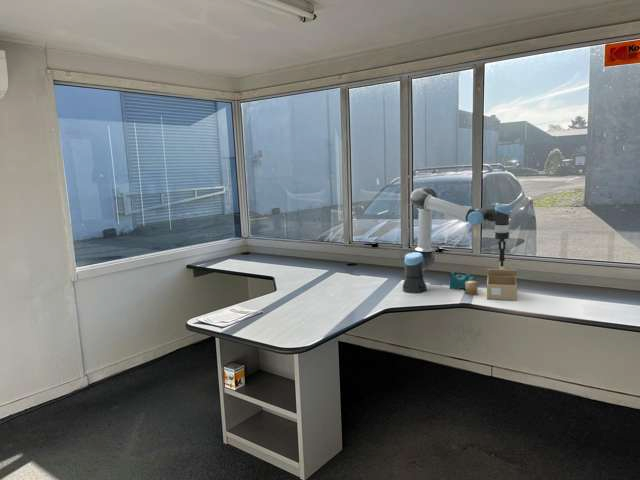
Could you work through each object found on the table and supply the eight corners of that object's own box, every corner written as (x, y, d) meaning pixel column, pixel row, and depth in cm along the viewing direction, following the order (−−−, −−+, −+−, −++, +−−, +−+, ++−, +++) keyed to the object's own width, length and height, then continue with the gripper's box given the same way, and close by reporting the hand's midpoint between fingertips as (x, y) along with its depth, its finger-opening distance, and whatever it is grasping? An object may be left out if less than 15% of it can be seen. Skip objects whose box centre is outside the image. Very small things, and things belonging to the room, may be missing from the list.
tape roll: (466, 295, 272) (466, 284, 271) (464, 291, 279) (464, 280, 278) (478, 294, 272) (478, 283, 270) (476, 291, 278) (475, 280, 277)
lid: (487, 269, 261) (487, 268, 261) (487, 275, 279) (487, 274, 279) (517, 270, 255) (517, 269, 255) (515, 276, 273) (515, 275, 273)
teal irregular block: (467, 291, 282) (468, 275, 280) (449, 288, 288) (451, 272, 285) (472, 284, 298) (474, 268, 296) (456, 281, 303) (457, 266, 301)
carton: (486, 299, 262) (486, 284, 261) (487, 289, 280) (487, 275, 279) (516, 300, 256) (517, 285, 255) (515, 291, 275) (515, 276, 273)
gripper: (509, 233, 256) (509, 273, 260) (508, 230, 268) (508, 268, 271) (495, 233, 258) (495, 273, 262) (495, 230, 270) (495, 268, 274)
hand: (501, 271), depth 267 cm, fingers closed
